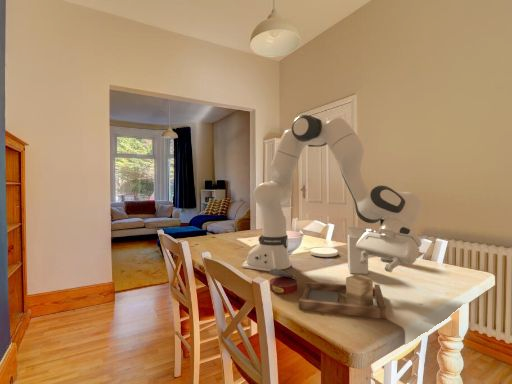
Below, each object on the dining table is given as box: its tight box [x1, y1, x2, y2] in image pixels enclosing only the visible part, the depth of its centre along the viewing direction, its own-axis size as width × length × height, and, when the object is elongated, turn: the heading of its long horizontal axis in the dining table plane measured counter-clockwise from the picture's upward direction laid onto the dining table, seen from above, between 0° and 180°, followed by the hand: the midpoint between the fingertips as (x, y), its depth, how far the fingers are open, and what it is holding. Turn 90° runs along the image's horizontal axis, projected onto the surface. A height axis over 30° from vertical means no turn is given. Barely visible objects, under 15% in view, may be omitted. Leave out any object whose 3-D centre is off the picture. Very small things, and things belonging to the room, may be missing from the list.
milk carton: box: [346, 226, 369, 275], centre depth 117 cm, size 7×7×19 cm
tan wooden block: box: [345, 274, 374, 306], centre depth 86 cm, size 6×6×8 cm
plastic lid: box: [310, 247, 339, 258], centre depth 146 cm, size 14×14×2 cm
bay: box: [298, 281, 387, 320], centre depth 88 cm, size 24×17×4 cm
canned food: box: [268, 269, 298, 295], centre depth 100 cm, size 11×10×10 cm
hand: (374, 267), depth 89 cm, fingers open, 8 cm apart
